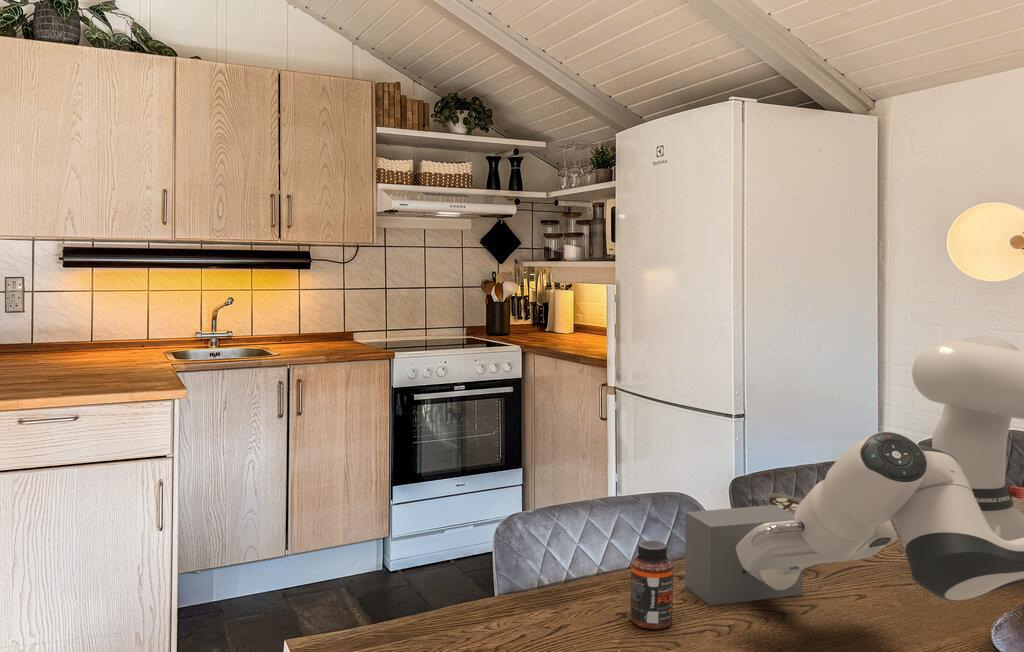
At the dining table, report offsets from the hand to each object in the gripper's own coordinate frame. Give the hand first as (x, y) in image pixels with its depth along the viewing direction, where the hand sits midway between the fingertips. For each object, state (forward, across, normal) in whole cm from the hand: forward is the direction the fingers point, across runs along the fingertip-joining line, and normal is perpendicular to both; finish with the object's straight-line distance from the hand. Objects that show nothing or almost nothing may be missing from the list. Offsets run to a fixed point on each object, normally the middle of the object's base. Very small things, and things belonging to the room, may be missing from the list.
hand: (786, 569), depth 112 cm
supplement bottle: (+8, -19, -2) cm, 21 cm away
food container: (+21, +16, +10) cm, 29 cm away
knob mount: (+13, 0, +3) cm, 13 cm away
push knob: (+6, 0, +1) cm, 6 cm away
